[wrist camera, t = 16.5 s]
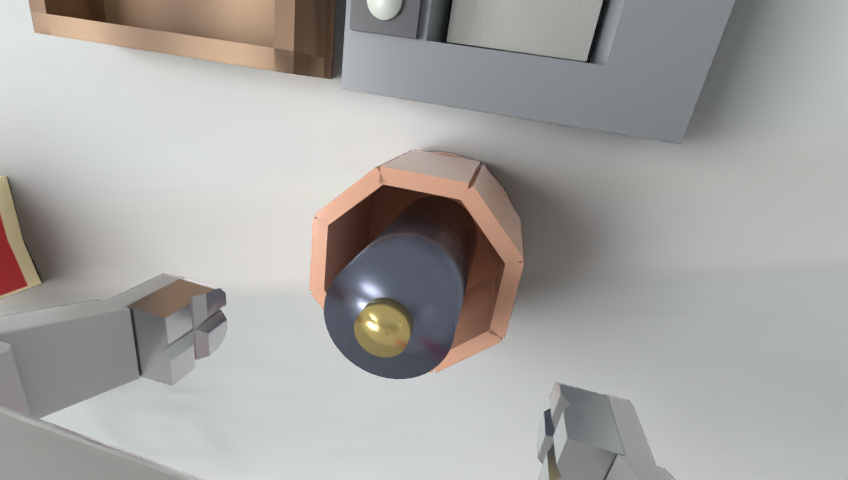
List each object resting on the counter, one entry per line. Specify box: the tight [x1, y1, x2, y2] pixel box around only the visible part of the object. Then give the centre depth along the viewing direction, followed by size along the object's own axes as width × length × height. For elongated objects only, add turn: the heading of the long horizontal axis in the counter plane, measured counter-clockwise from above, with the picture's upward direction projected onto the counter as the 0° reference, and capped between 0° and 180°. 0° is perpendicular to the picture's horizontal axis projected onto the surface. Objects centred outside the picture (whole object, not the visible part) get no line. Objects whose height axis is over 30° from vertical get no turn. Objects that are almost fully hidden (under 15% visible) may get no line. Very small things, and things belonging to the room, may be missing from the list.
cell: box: [324, 196, 477, 379], centre depth 15 cm, size 4×4×9 cm
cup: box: [310, 150, 524, 373], centre depth 17 cm, size 8×8×6 cm
